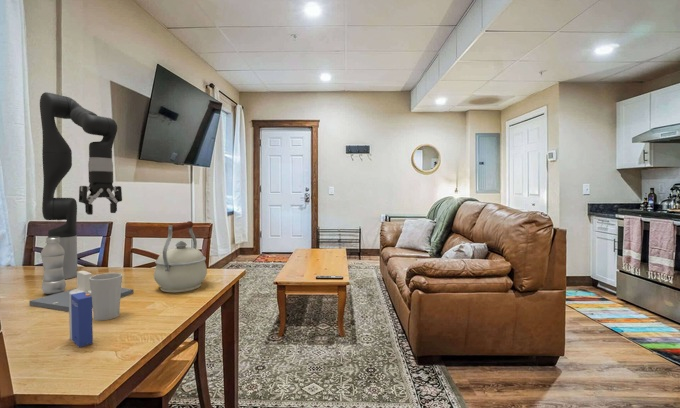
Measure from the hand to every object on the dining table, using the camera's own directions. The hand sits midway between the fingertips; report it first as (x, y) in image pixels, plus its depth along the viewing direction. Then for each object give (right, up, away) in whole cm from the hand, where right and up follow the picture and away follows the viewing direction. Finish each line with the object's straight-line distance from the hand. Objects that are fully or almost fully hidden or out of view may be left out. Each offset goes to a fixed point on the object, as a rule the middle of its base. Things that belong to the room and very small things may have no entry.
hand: (101, 213), depth 126 cm
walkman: (+25, -31, -43) cm, 58 cm away
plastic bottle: (-12, -28, -7) cm, 32 cm away
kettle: (+29, -29, +5) cm, 41 cm away
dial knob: (+5, -27, -13) cm, 31 cm away
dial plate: (+3, -29, -12) cm, 31 cm away
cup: (+21, -30, -27) cm, 45 cm away
